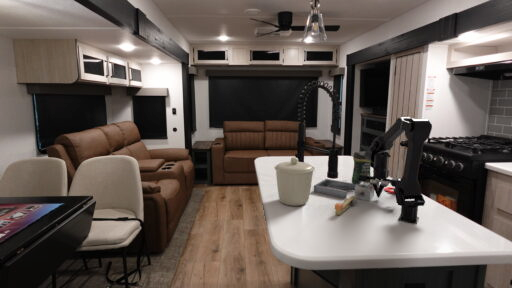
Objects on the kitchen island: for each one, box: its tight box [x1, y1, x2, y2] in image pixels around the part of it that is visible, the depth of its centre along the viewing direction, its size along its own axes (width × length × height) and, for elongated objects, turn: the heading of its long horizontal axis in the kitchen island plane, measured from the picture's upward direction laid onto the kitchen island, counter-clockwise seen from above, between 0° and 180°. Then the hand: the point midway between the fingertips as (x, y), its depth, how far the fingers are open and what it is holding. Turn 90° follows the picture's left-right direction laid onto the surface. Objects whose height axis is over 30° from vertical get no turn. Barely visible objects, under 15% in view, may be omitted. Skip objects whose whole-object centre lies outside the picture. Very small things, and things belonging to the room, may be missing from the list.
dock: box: [313, 178, 358, 207], centre depth 142 cm, size 23×23×4 cm
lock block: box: [354, 181, 376, 202], centre depth 137 cm, size 10×7×7 cm
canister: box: [273, 156, 315, 207], centre depth 130 cm, size 18×18×21 cm
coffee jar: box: [351, 151, 372, 184], centre depth 157 cm, size 10×8×19 cm
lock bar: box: [334, 195, 356, 216], centre depth 124 cm, size 20×2×4 cm, turn 144°
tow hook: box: [383, 168, 400, 195], centre depth 146 cm, size 8×13×9 cm
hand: (378, 197), depth 134 cm, fingers closed
